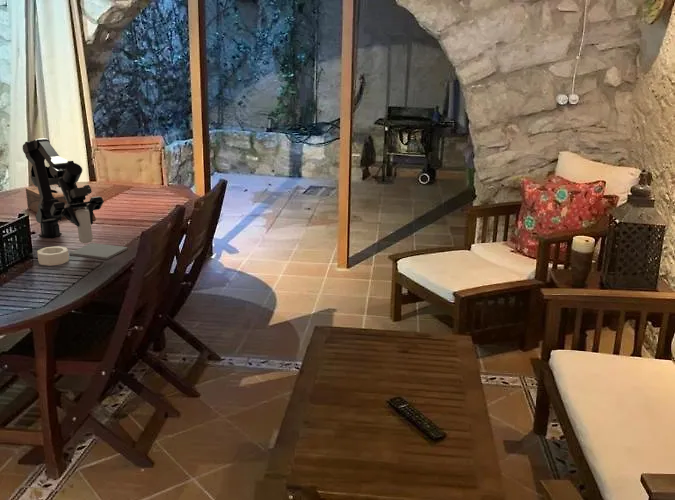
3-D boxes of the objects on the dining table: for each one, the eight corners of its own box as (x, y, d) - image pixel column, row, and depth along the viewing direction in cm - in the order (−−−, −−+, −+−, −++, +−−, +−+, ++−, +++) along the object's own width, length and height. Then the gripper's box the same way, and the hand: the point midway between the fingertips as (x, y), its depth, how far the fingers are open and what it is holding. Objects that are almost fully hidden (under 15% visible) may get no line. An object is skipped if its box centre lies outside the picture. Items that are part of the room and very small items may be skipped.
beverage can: (79, 240, 257) (74, 209, 252) (92, 238, 258) (88, 208, 254) (80, 244, 252) (75, 213, 248) (93, 242, 254) (89, 211, 250)
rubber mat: (69, 254, 257) (69, 252, 256) (91, 244, 269) (91, 242, 269) (106, 259, 253) (106, 257, 252) (127, 249, 266) (127, 247, 265)
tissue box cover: (81, 215, 313) (79, 194, 310) (49, 220, 303) (47, 198, 300) (58, 204, 331) (56, 184, 328) (27, 208, 321) (25, 188, 318)
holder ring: (32, 263, 246) (31, 252, 245) (50, 255, 255) (49, 245, 254) (56, 266, 244) (55, 256, 242) (74, 258, 253) (73, 248, 252)
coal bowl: (82, 193, 353) (79, 157, 348) (48, 200, 337) (44, 162, 331) (58, 188, 363) (54, 153, 358) (24, 194, 347) (20, 158, 342)
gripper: (50, 181, 244) (65, 217, 240) (99, 175, 257) (115, 209, 253) (43, 198, 252) (58, 233, 248) (92, 191, 265) (106, 225, 261)
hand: (85, 225), depth 252 cm, fingers closed on beverage can, 5 cm apart
